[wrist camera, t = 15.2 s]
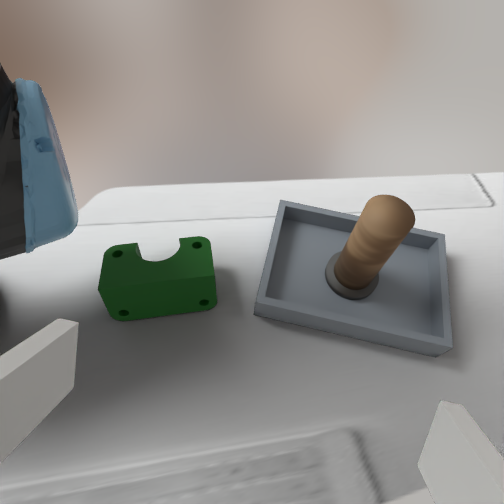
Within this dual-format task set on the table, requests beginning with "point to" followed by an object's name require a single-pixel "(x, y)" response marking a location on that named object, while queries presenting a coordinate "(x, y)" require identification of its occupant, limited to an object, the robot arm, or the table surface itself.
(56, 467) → the table surface
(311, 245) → the tray
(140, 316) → the clamp
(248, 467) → the table surface
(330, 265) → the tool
